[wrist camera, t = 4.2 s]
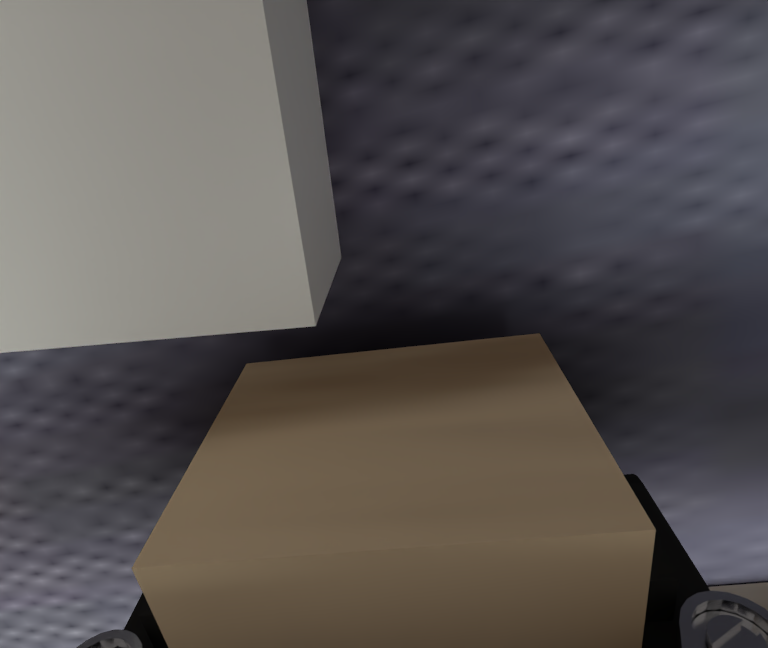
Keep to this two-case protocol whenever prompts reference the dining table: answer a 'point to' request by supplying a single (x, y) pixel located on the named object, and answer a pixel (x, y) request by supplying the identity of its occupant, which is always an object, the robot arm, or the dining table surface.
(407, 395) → the oak block
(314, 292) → the grey block
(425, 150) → the dining table surface
